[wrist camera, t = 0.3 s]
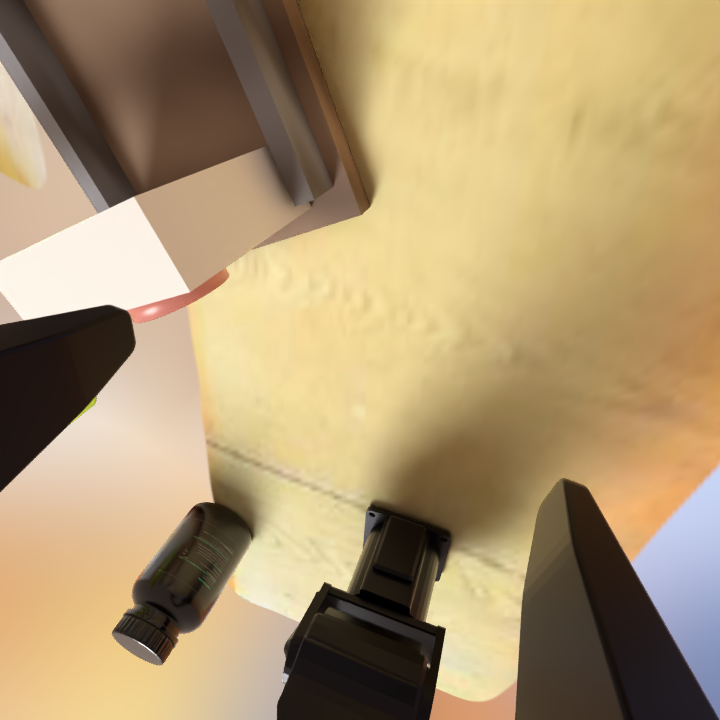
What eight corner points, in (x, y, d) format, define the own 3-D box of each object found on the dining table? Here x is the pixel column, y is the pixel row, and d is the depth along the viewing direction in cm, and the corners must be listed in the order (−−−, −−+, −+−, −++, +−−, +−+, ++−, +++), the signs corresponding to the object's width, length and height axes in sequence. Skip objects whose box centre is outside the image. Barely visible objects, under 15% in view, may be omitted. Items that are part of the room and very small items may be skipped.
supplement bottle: (228, 548, 47) (149, 670, 38) (182, 506, 45) (87, 624, 36) (266, 541, 43) (188, 675, 34) (218, 494, 41) (122, 623, 32)
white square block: (320, 228, 21) (206, 319, 14) (186, 270, 25) (52, 355, 19) (282, 139, 19) (133, 196, 12) (146, 202, 24) (-18, 268, 17)
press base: (370, 206, 21) (335, 238, 18) (175, 270, 27) (124, 301, 24) (189, -299, 14) (77, -398, 11) (-15, -50, 20) (-123, -66, 17)
